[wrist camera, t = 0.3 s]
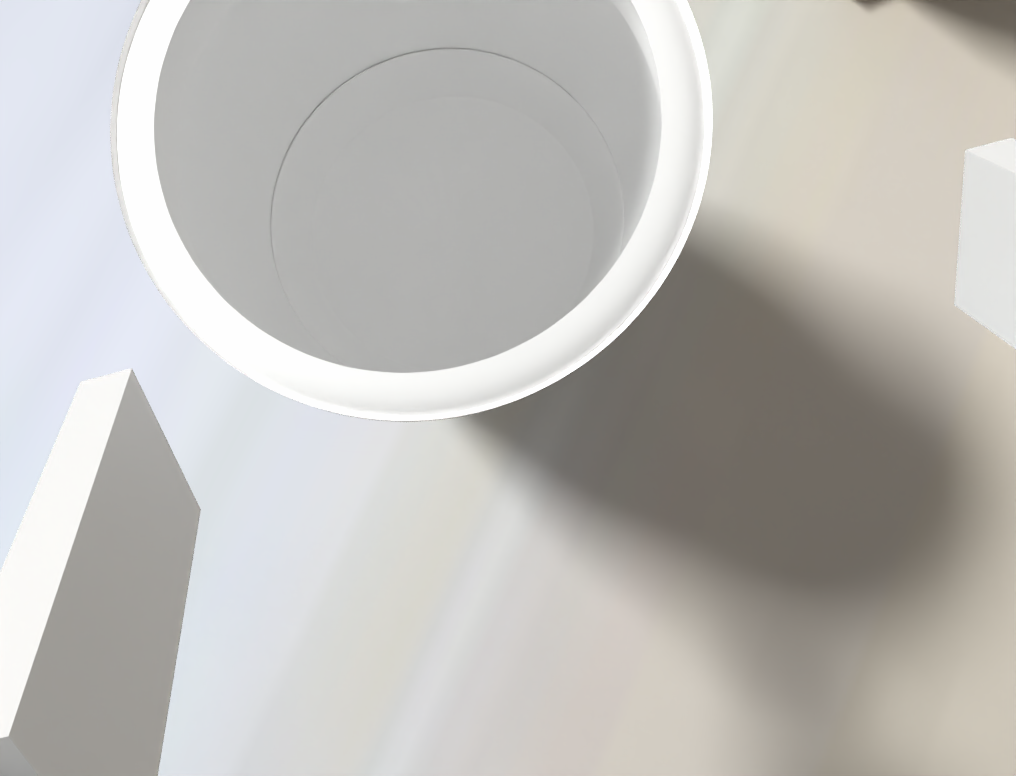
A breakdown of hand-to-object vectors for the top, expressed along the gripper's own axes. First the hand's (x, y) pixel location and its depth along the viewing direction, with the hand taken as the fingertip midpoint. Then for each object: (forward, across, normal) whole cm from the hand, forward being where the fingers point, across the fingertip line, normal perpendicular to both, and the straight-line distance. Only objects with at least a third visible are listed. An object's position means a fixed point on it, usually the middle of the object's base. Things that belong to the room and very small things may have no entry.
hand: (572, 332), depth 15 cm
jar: (+16, +1, +5) cm, 17 cm away
